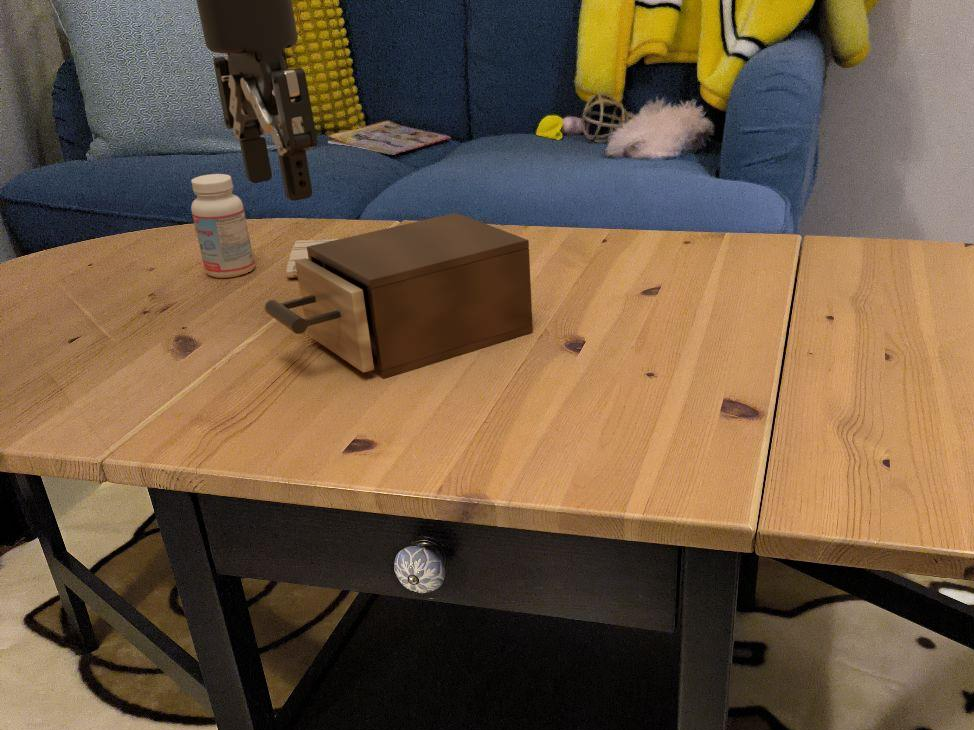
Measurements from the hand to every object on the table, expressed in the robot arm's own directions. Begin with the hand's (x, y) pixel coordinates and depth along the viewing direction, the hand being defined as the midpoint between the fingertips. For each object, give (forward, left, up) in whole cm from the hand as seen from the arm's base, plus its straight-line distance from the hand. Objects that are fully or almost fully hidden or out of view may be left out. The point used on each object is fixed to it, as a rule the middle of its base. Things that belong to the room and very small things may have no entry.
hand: (279, 189), depth 87 cm
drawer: (+8, -2, -16) cm, 18 cm away
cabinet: (+12, -2, -17) cm, 21 cm away
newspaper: (+20, +24, -17) cm, 36 cm away
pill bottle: (+4, +33, -17) cm, 37 cm away
